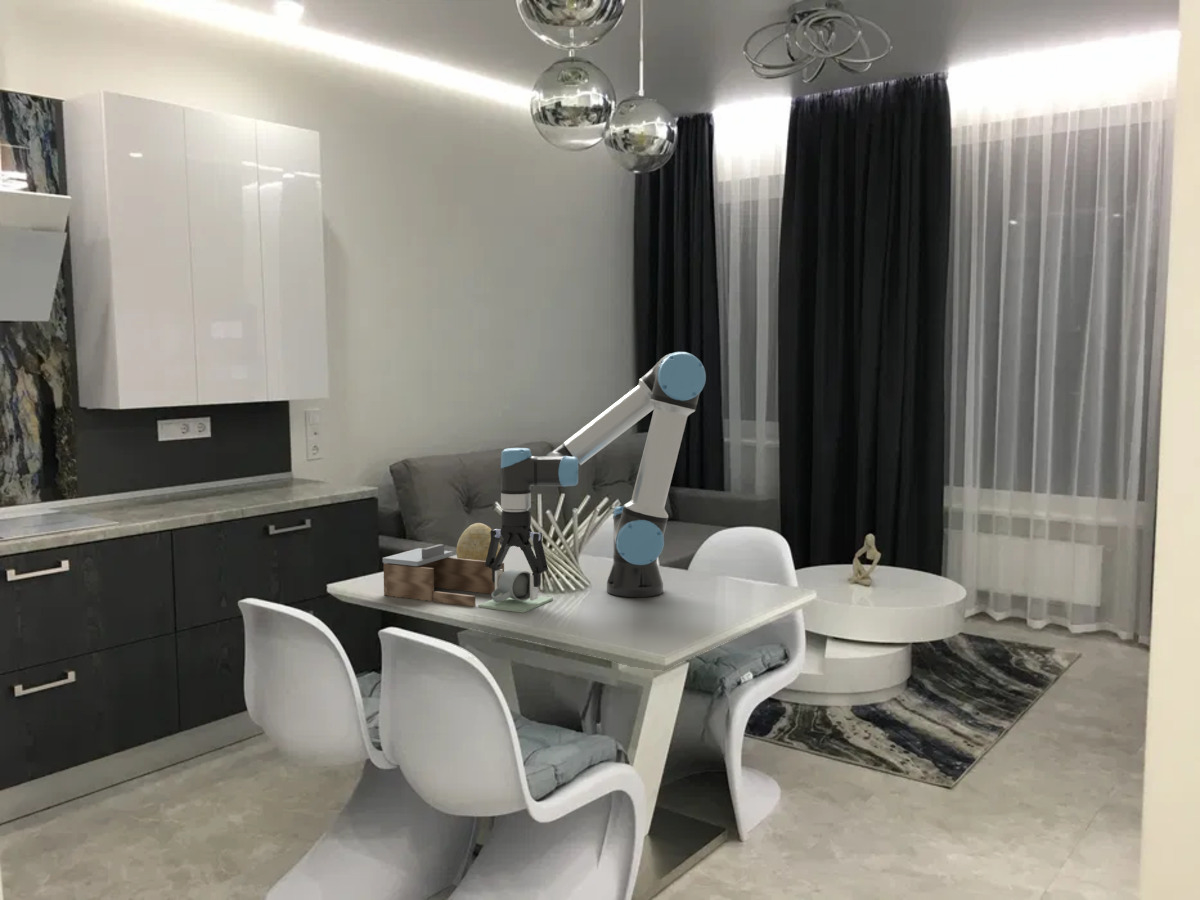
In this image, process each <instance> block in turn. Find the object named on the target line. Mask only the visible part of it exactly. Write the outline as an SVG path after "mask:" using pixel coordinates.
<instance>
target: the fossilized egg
mask: <svg viewBox="0 0 1200 900" xmlns="http://www.w3.org/2000/svg"><path fill="white" fill-rule="evenodd" d="M491 530H493V529H492V528H491V527H490V526H489V525H486V524H484V523H481V522H475V523H473V524H471V525H469V526H467V528H465V530H464V531H463V532H462V534H461V535H460V537H459V539H458V541H457V543H456V544H457V545H456V551H455V552H456V558H461V559H471V560H480V561H486V558H487V554H488V550H489V545H490V541H491V534H490V531H491ZM500 548H501V543H500V541H499V545H498V549H497V553H496V556H497V554H498V552H499V550H500Z"/></svg>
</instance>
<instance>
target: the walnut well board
mask: <svg viewBox="0 0 1200 900" xmlns="http://www.w3.org/2000/svg"><path fill="white" fill-rule="evenodd" d="M485 563H486V561H480V560H471V559H461V558H457V557H452V556H450V557H447V558H444V559H440V560H437V561H434V562H430V563H427V564H424V565H420V566H410V565H401V564H391V563H383V596H385V595H387V597H393V596H395V597H394V598H401V597H404V598H403V599H409V598H411V599H410V600H417V599H420V600H419V601H425V600H428V601H427V602H433V601H435V602H434V603H441V602H442V604H451V605H457V606H458V605H459V606H466V607H476V595H472V594H471V595H470V594H463V593H454V592H445V591H438V590H435V588H439V589H448V590H454V591H455V590H457V591H462V592H473V593H482V594H490V595H492V592H493V591H495V582H493V581H492V569H491V568H489V567H486V566H485ZM499 569H503V572H504V571H505V563H504V562H502V564H501V568H499ZM502 595H503V594H502Z"/></svg>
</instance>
